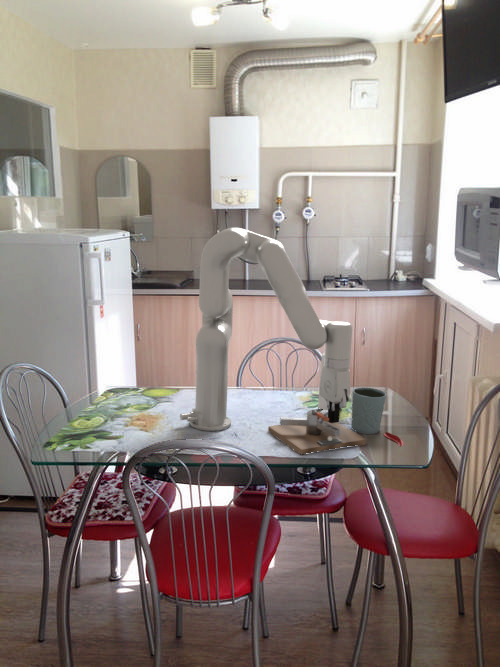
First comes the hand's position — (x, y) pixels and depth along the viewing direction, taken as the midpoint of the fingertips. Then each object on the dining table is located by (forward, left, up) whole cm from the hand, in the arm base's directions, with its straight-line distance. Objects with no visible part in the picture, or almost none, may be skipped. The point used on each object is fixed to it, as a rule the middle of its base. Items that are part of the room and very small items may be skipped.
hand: (333, 421), depth 180 cm
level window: (-8, -11, -2) cm, 14 cm away
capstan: (-7, -1, -1) cm, 7 cm away
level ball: (-8, -11, -1) cm, 13 cm away
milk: (+12, +19, -4) cm, 22 cm away
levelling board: (-7, -2, -3) cm, 8 cm away
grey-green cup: (+12, -1, -4) cm, 12 cm away
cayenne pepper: (+14, -11, -4) cm, 19 cm away
